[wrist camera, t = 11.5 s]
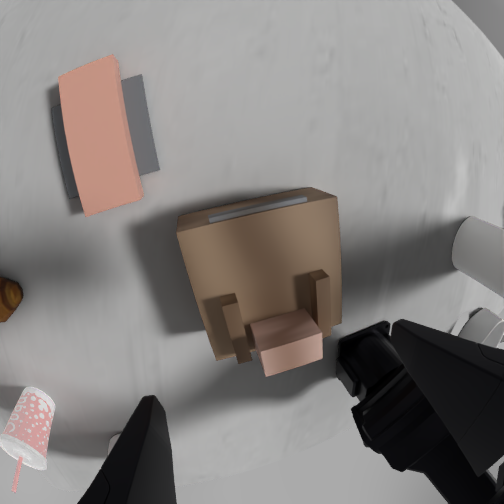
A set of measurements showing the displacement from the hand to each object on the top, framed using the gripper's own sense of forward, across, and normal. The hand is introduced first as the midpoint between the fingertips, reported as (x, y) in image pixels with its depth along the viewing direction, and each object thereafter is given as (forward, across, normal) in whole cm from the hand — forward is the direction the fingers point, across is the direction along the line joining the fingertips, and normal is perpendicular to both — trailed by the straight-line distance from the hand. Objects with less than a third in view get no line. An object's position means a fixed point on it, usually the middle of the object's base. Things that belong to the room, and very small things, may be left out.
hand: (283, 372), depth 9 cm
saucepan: (+13, -41, +27) cm, 51 cm away
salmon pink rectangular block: (+13, +7, -10) cm, 18 cm away
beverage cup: (+13, +27, +13) cm, 33 cm away
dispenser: (+13, -2, +2) cm, 13 cm away
